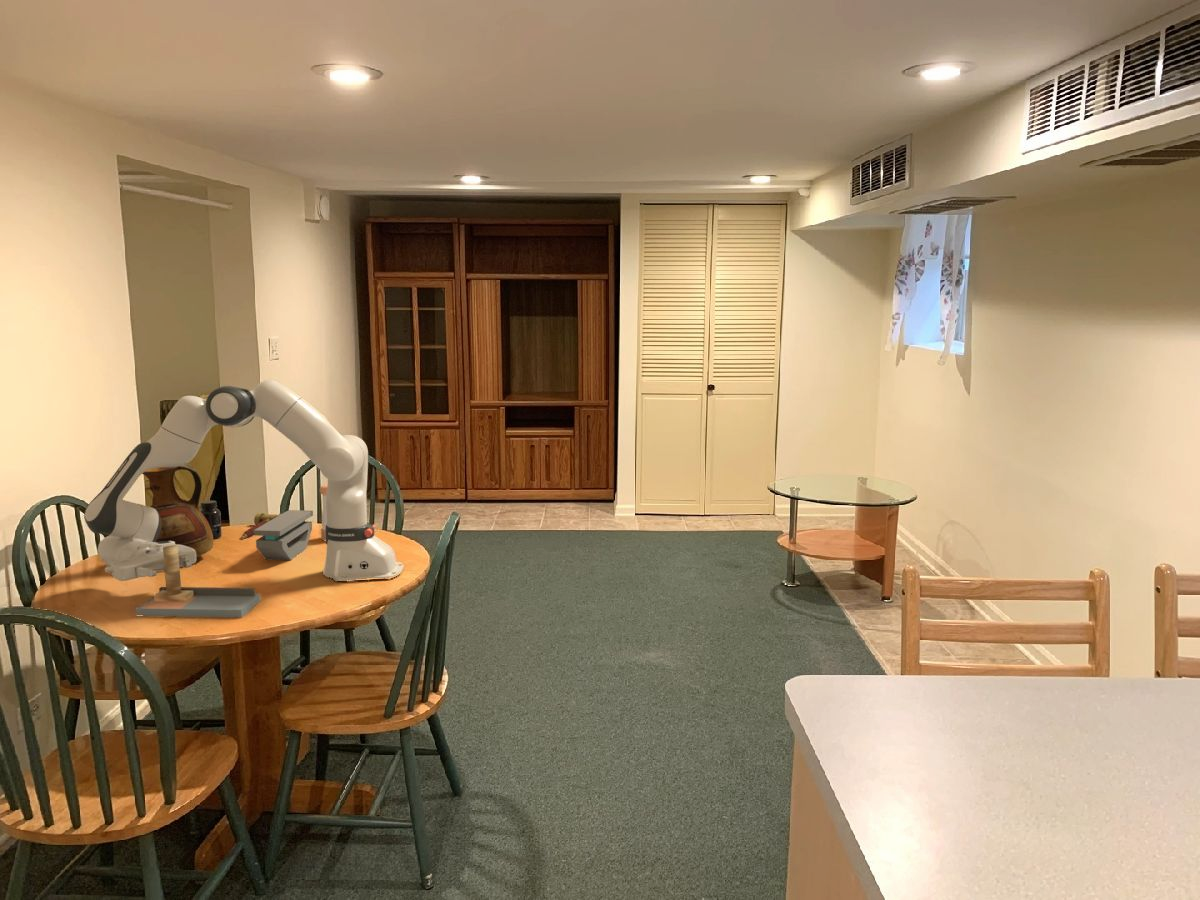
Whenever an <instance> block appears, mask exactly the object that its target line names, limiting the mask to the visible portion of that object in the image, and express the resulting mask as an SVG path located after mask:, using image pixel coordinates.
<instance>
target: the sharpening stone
mask: <svg viewBox="0 0 1200 900" xmlns="http://www.w3.org/2000/svg"><path fill="white" fill-rule="evenodd" d="M280 514H281V515H279V516H278V517H276V518H274V519H272V520H271V521H269V522H267V523H265V524H264V525H262V526H260V527H258V528H257V529H255V530H254V535H253V536H256V537H257V536H260V537H259V538H257V539H255V547H256V549H257V550H258V552H260V554H261V556H262V557H263V558H264V559H265V560H267V561H271V560H272V561H292V560H294V559H295V558H296V557H297V555H298V556H299V555H300V553H301V554H302V553H303V552H305V551H306V550H307V548H308V545H309V541H310V537H311V534H312V530H313V521H308V519H309V518H311V517H312V516H314V511H313V510H305V509H304V510H303V509H302V510H299V509H298V510H296V509H288V510H287V511H285V512H283V513H280ZM305 549H306V550H305ZM304 550H305V551H304ZM293 558H294V559H293Z"/></svg>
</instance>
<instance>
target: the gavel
mask: <svg viewBox="0 0 1200 900" xmlns="http://www.w3.org/2000/svg"><path fill="white" fill-rule="evenodd" d="M281 514H282V513H279V514H266V513H263V512H257V513H256V514H255V516H254V526H252V527H250V528H249V529H247V530H245V531H244V532H243V534H242V535H241V537H240V538H241V540H244V539H248V538H249V539H250V538H251V537H253V536H255V535H254V530H255V529H257V528H258V527H260V526H262V525H264V524H265V523H267V522H269V521H271V520H272V519H274V518H276V517H278V516H279V515H281Z"/></svg>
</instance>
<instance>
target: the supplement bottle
mask: <svg viewBox="0 0 1200 900" xmlns="http://www.w3.org/2000/svg"><path fill="white" fill-rule="evenodd" d="M217 504H218V503H217V501H216V500H203V501H201V502H200V509H199V511H200V512H201V513H202V514H203V515H204V517H205V518H206V519H207V521H208V523H209V525H210V528H211V531H212V534H213V540H217V539H218V540H219V539H220V538H221V537H222V534H223V533H222V521H221V520H222V518H221V517H222V514H221V511H220V509H218V505H217Z"/></svg>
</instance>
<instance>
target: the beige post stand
mask: <svg viewBox="0 0 1200 900" xmlns="http://www.w3.org/2000/svg"><path fill="white" fill-rule="evenodd" d="M163 554H164V567H165V571H164V578H165V587H166V590H161V591H160V592H159V591H158V592H157V593H156V594H154V595H153V597H154V599H155V601H188V600H189V599H190V598H192V597H193V596H194V593H193V590H181V587H182V584H181V583H182V582H181V581H182V580H181V570H180V569H181V567H179V553H178V546H176V545H170V546H165V547H163Z"/></svg>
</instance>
